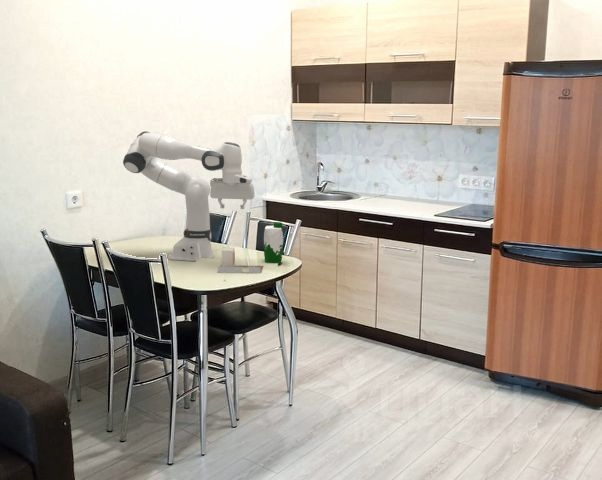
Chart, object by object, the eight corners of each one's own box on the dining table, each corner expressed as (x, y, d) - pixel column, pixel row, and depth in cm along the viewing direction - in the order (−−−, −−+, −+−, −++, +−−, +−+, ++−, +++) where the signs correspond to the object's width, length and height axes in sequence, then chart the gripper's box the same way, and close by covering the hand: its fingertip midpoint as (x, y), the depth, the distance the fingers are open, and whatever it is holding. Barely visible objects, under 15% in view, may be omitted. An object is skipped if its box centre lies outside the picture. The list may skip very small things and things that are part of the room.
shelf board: (216, 275, 285) (216, 272, 284) (221, 267, 298) (221, 265, 298) (261, 275, 284) (261, 273, 284) (263, 268, 298) (263, 265, 298)
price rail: (217, 272, 284) (217, 267, 284) (218, 272, 285) (218, 266, 285) (260, 273, 284) (260, 267, 283) (260, 272, 285) (260, 267, 284)
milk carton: (282, 265, 303) (282, 224, 299) (263, 265, 304) (263, 224, 300) (283, 261, 312) (283, 221, 308) (264, 261, 312) (264, 221, 308)
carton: (233, 269, 290) (233, 250, 288) (221, 269, 290) (221, 250, 288) (235, 266, 297) (234, 247, 295) (223, 266, 297) (223, 247, 295)
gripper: (208, 178, 287) (208, 208, 290) (252, 179, 284) (252, 210, 287) (212, 177, 293) (212, 206, 296) (255, 178, 290) (255, 208, 293)
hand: (232, 208), depth 291 cm, fingers open, 8 cm apart
